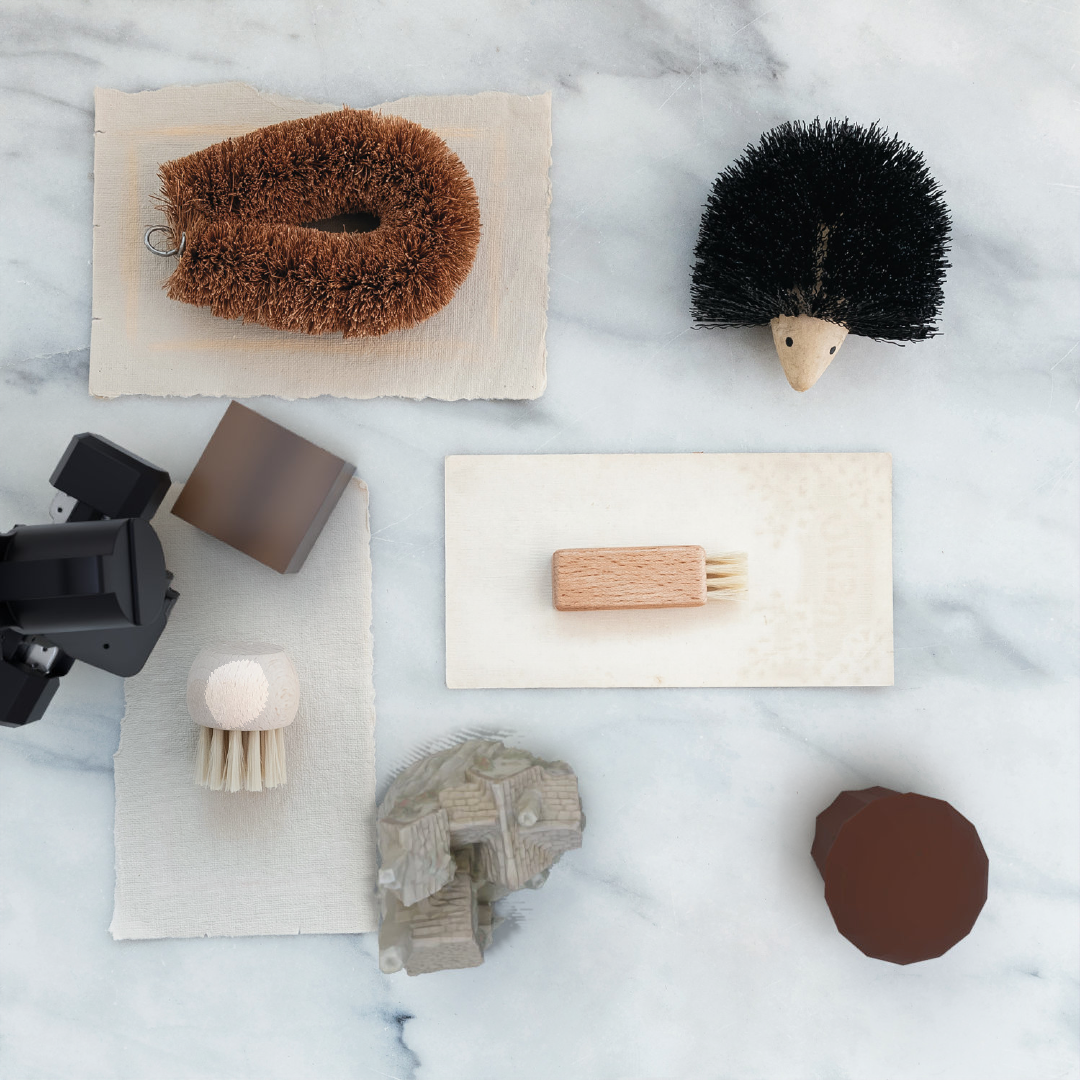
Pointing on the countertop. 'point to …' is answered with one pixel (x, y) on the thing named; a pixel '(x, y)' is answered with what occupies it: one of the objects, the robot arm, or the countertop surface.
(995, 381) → the countertop surface
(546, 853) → the ceramic cottage
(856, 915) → the brown faceted knob
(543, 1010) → the countertop surface
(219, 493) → the block
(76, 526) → the robot arm
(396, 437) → the countertop surface
